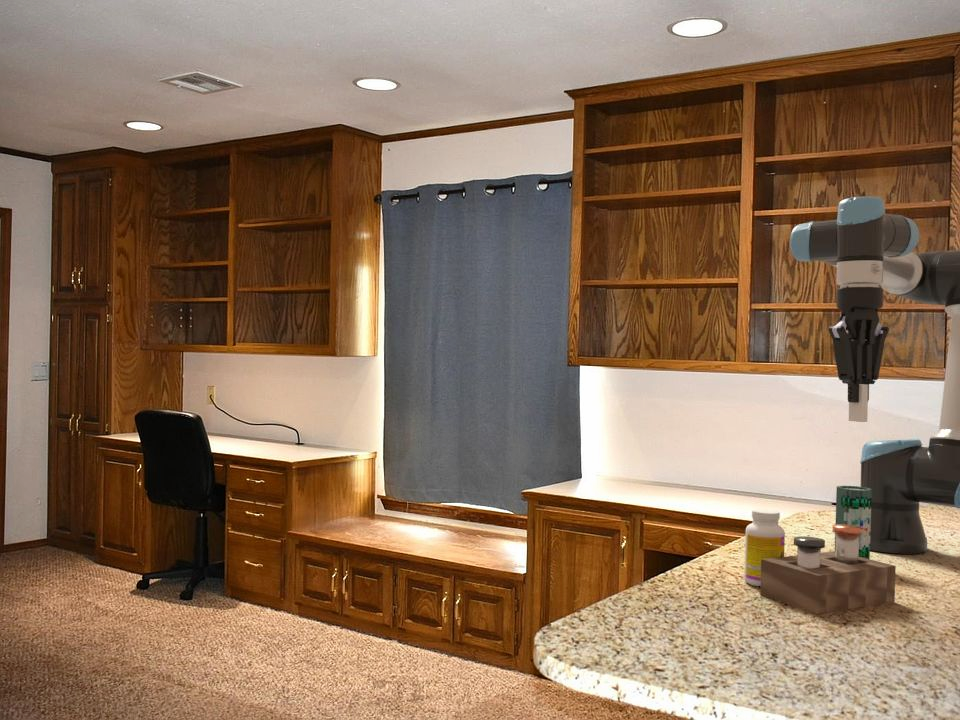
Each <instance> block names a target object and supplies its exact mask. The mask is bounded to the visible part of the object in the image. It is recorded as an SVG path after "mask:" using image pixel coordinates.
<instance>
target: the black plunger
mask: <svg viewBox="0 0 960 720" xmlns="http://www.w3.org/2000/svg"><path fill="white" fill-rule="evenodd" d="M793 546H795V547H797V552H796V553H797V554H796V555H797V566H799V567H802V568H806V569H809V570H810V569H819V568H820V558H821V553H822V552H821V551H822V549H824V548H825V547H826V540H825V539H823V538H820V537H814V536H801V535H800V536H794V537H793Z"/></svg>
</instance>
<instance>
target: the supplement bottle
mask: <svg viewBox="0 0 960 720" xmlns="http://www.w3.org/2000/svg"><path fill="white" fill-rule="evenodd" d="M780 513H781V512H780V511H778V510H775V509H768V508H754V509H752V510H751V517H752V523H749V524H748V525H747V526H746V528H745V541H744V542H745V543H744V545H745V546H744V547H745V548H744V572H743V573H744V577H743V578H744V581H745V583H747V584H749V585H751V586H754V587H759V586H760V587H759V588H761V559H768V558H777V557H785V541H786V540H785V538H786V533H785V532H786V531H785V530H784V528H783V527H782V526H781V525H780V524H779V521H780V518H781V517H780Z"/></svg>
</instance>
